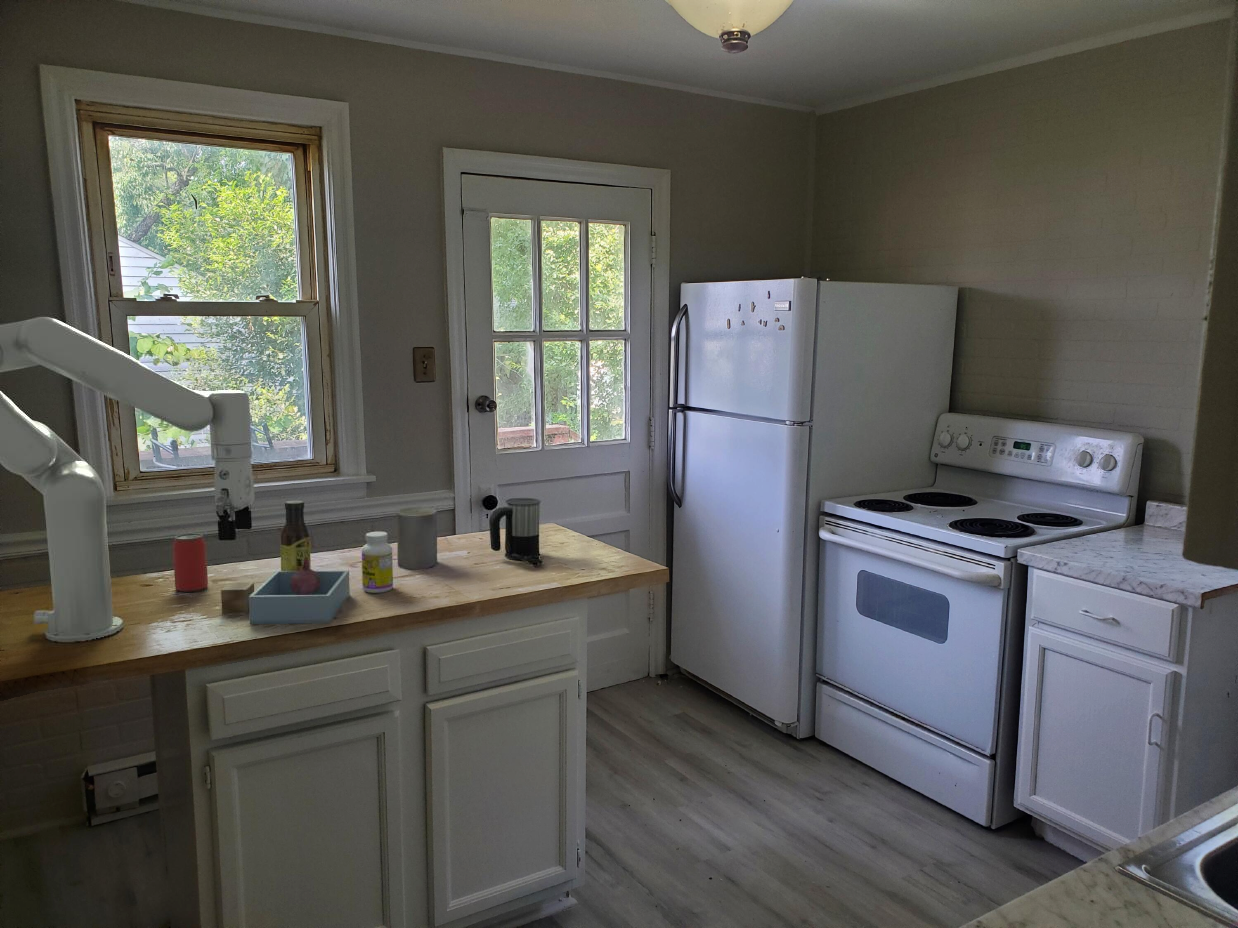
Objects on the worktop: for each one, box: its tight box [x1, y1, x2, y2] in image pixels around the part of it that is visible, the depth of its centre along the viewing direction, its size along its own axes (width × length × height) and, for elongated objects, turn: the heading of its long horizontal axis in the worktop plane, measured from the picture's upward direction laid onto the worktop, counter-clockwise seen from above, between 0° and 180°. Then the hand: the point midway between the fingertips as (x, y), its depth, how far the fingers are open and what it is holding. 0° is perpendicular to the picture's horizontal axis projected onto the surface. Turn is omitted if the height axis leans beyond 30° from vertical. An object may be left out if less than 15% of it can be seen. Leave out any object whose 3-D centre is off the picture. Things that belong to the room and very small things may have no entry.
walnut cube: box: [220, 582, 255, 614], centre depth 181 cm, size 5×5×5 cm
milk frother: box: [488, 497, 544, 567], centre depth 223 cm, size 14×16×15 cm
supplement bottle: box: [361, 531, 394, 594], centre depth 196 cm, size 7×7×13 cm
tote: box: [248, 570, 351, 625], centre depth 182 cm, size 15×18×6 cm
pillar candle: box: [396, 505, 438, 570], centre depth 217 cm, size 10×10×15 cm
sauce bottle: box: [280, 499, 312, 571], centre depth 195 cm, size 7×6×20 cm
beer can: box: [172, 532, 209, 593], centre depth 194 cm, size 7×7×12 cm
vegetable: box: [290, 554, 321, 595], centre depth 186 cm, size 6×6×10 cm
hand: (235, 534), depth 179 cm, fingers open, 9 cm apart
